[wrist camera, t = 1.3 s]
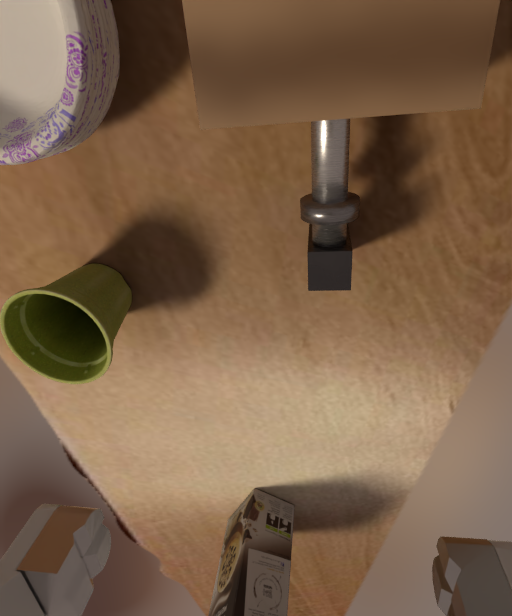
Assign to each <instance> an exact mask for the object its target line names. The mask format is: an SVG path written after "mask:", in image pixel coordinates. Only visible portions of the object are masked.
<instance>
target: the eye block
mask: <svg viewBox="0 0 512 616" xmlns="http://www.w3.org/2000/svg"><path fill="white" fill-rule="evenodd" d="M182 4H183V11H184V19H185V26H186V33H187V40H188V47H189V54H190V61H191V68H192V75H193V82H194V89H195V96H196V103H197V111H198V118H199V125H200V130H205V129H218V128H231V127H244V126H257V125H270V124H284V123H297V122H310V121H323V120H336V119H349V118H362V117H375V116H389V115H402V114H415V113H428V112H441V111H454V110H467V109H481V105H482V99H483V94H484V88H485V82H486V77H487V71H488V66H489V60H490V55H491V49H492V44H493V38H494V33H495V27H496V21H497V16H498V10H499V5H500V0H182Z"/></svg>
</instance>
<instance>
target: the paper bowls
mask: <svg viewBox="0 0 512 616" xmlns="http://www.w3.org/2000/svg"><path fill="white" fill-rule="evenodd" d="M119 67H120V53H119V39H118V30H117V25H116V20H115V16H114V11H113V7H112V3H111V0H0V165H16V164H23V163H29V162H32V161H35V160H38V159H42V158H46V157H50V156H53V155H56V154H59V153H62V152H65V151H68V150H70V149H72V148H74V147H75V146H77V145H79V144H80V143H82V142H83V141H85V140H86V139H87V138H88V137H90V136H91V135H92V134H93V133H94V131H95V130H96V129H97V127H98V126H99V125H100V124H101V122H102V120H103V119H104V117H105V115H106V113H107V112H108V110H109V107H110V105H111V102H112V99H113V95H114V92H115V89H116V85H117V81H118V77H119Z"/></svg>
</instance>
